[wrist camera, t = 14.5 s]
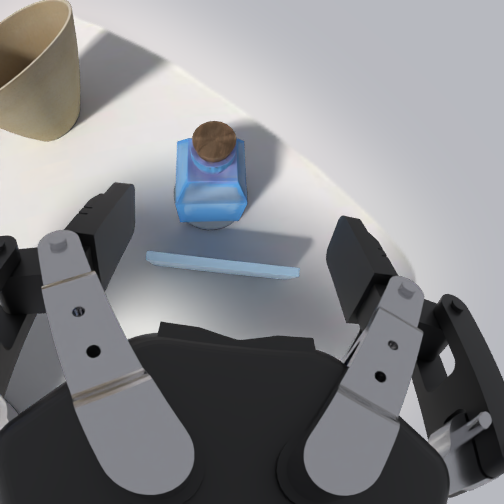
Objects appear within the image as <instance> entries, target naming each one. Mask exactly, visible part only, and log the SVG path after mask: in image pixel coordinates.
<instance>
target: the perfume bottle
mask: <svg viewBox="0 0 504 504" xmlns="http://www.w3.org/2000/svg"><path fill="white" fill-rule="evenodd" d="M246 205H247V186H246V168H245V149H244V141H242V140H240V139H237V138H236V135H235V133H234V131H233V129H232V128H231V127H229V126H228V125H227V124H225V123H222V122H218V121H210V122H206V123H204V124H201V125H200V126H199V127H198V128H196V130H195V132H194V133H193V137H192V138H188V139H184V140H181V141H178V142H177V163H176V208H177V212H178V216H179V219H180V222H205V221H239V219H240V217H241V215H242V213H243V211H244V209H245V207H246Z"/></svg>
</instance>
